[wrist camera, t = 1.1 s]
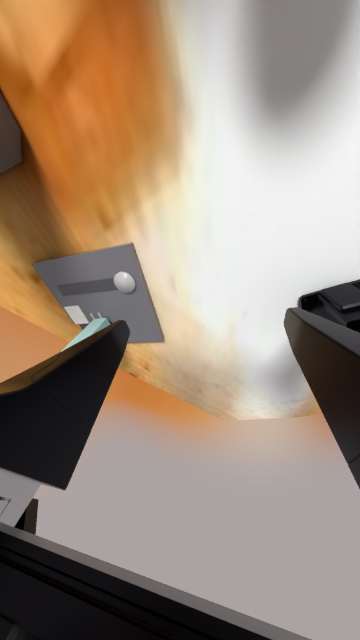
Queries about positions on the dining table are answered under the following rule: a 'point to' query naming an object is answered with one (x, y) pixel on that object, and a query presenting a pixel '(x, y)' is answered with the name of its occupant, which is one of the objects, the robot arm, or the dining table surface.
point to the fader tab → (90, 330)
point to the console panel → (104, 289)
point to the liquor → (9, 138)
